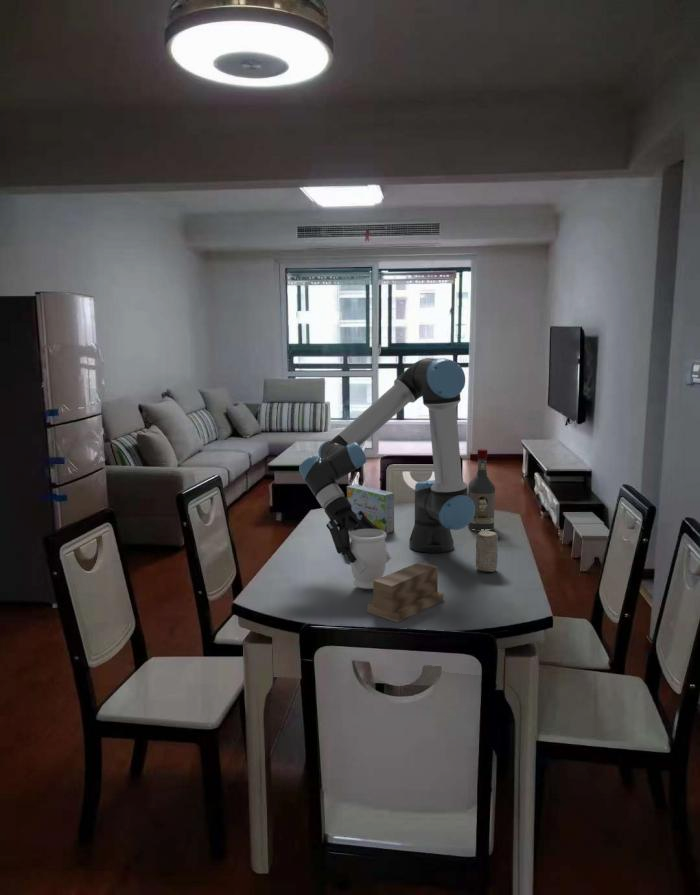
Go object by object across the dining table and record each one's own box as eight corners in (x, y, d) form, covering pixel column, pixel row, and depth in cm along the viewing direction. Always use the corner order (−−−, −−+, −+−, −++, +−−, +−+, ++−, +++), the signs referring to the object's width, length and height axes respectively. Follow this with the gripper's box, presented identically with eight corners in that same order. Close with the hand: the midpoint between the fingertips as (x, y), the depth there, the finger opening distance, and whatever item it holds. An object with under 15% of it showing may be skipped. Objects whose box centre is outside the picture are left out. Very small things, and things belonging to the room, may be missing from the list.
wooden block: (413, 591, 188) (414, 560, 186) (443, 600, 181) (444, 568, 180) (367, 612, 173) (367, 578, 172) (397, 622, 166) (398, 588, 165)
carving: (500, 569, 206) (502, 531, 204) (491, 575, 200) (492, 537, 198) (481, 565, 210) (482, 528, 208) (471, 572, 204) (472, 533, 202)
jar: (378, 575, 196) (377, 526, 194) (392, 587, 187) (392, 535, 185) (344, 580, 193) (343, 530, 190) (357, 593, 183) (357, 540, 181)
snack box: (346, 523, 260) (345, 485, 258) (356, 521, 264) (356, 483, 262) (384, 534, 245) (384, 494, 243) (395, 531, 249) (395, 492, 246)
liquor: (466, 524, 258) (468, 448, 253) (490, 525, 257) (492, 448, 253) (470, 531, 249) (471, 451, 244) (494, 531, 248) (497, 451, 244)
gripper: (353, 503, 205) (393, 562, 197) (299, 518, 189) (341, 583, 181) (366, 488, 201) (408, 548, 193) (312, 502, 184) (355, 569, 176)
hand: (375, 565), depth 187 cm, fingers closed on jar, 10 cm apart
